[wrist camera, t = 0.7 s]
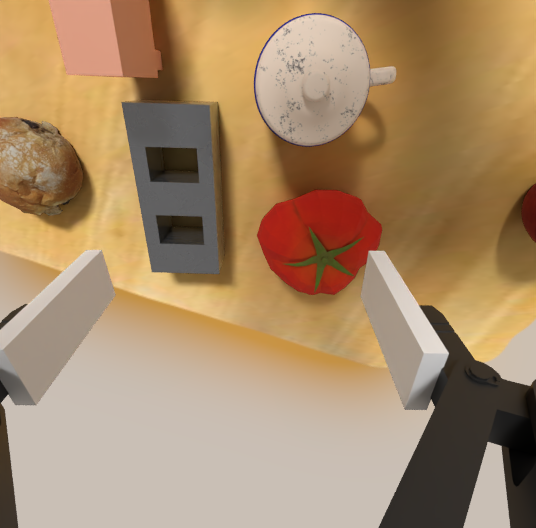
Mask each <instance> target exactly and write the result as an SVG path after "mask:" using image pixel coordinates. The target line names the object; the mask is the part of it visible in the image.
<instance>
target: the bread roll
mask: <svg viewBox="0 0 536 528" xmlns="http://www.w3.org/2000/svg"><path fill="white" fill-rule="evenodd" d="M82 181H83V171H82V167H81V165H80V161H79V160H78V158H77V156H76V153H75V151H74V149H73V148H72V146H71V145H70V143H69V142H68V141H67V140H66V139H65V138H63V137H62V136H60V135H59V134H58V129H57V128H56V127H54V126H53V125H51V124H50V123H47V122H44V121H42V124H40V123H38V122H34V121H30V120H26V119H22V118H18V117H4V118H0V199H1V200H2V201H4V202H6V203H8V204H10V205H12V206H14V207H16V208H18V209H20V210H21V211H22V212H23V213H30V214H37V215H41V214H42V213H46V214H47V215H57V214H60V213H61V212H62V211H63V210H61V208H59V206H58V205H59V204H63V205H65V204H68V203H69V201H70V199H72V198H74V197H75V196H76V195H77V193H78V191H79V190H80V189H81V185H82Z"/></svg>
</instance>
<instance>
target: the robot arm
mask: <svg viewBox="0 0 536 528" xmlns="http://www.w3.org/2000/svg"><path fill="white" fill-rule="evenodd" d="M114 297H115V292H114V288H113V285H112V282H111V279H110V275H109V272H108V269H107V266H106V262H105V259H104V256H103V253H102V250H86V251H85V252H84V253H82V254H81V255H80V256H79V257H78V258H77V259H76V260H75V261H74V262H73V263H72V264H71V265H70V266H68V267H67V268H66V269H65V270H64V271H63V272H62V273H61V274H60V275H59V276H58V277H57V278H56V279H54V280H53V281H52V282H51V283H50V284H49V285H48V286H47V287H46V288H45V289H44V290H43V291H42V292H40V293H39V294H38V295H37V296H36V297H35V298H34V299H33V300H32V301H31V302H30V303H29V304H25V305H23V306H21V307H19V308H18V309H16V310H14V311H12V312H11V313H10V314H9V315H8V316H7V317H5V318H4V319H3V320H2V322H1V323H0V528H18V521H17V513H16V504H15V495H14V486H13V478H12V470H11V460H10V452H9V443H8V434H7V425H6V417H5V409H4V408H3V406H2V404H1V402H2V401H3V400H4V398H5V397H6V396H7V395H9V396H10V398H11V399H12V401H13V402H14V404H15V405H37V403H38V402H39V401H40V399H41V398H42V396H43V395H44V394H45V392H46V391H47V389H48V388H49V387H50V385H51V384H52V382H53V381H54V380H55V378H56V377H57V376H58V374H59V373H60V371H61V370H62V369H63V367H64V366H65V365H66V363H67V362H68V360H69V359H70V358H71V356H72V355H73V354H74V352H75V351H76V349H77V348H78V347H79V345H80V344H81V342H82V341H83V340H84V338H85V337H86V336H87V334H88V333H89V331H90V330H91V329H92V327H93V325H94V324H95V323H96V321H97V320H98V319H99V317H100V316H101V315H102V313H103V312H104V311H105V309H106V308H107V306H108V305H109V304H110V302H111V301H112V300H113V298H114ZM361 299H362V301H363V304H364V306H365V309H366V312H367V314H368V317H369V319H370V322H371V324H372V327H373V330H374V332H375V335H376V337H377V340H378V342H379V345H380V348H381V350H382V353H383V355H384V358H385V360H386V363H387V365H388V368H389V371H390V373H391V375H392V378H393V381H394V383H395V386H396V388H397V391H398V394H399V396H400V399H401V401H402V404H403V407H404V409H405V410H427V408H428V405H429V403H430V400H431V399H432V402H433V404H434V406H435V409H434V411H433V414H432V415H431V418H430V420H429V422H428V424H427V426H426V428H425V430H424V433H423V435H422V437H421V439H420V441H419V443H418V445H417V448H416V450H415V451H414V454H413V456H412V458H411V460H410V462H409V464H408V466H407V468H406V471H405V473H404V475H403V477H402V479H401V481H400V483H399V485H398V487H397V490H396V492H395V494H394V496H393V498H392V500H391V502H390V505H389V507H388V509H387V511H386V513H385V515H384V517H383V519H382V522H381V524H380V526H379V528H463V526H464V523H465V519H466V516H467V512H468V509H469V505H470V501H471V498H472V494H473V491H474V488H475V484H476V481H477V477H478V474H479V470H480V466H481V463H482V460H483V456H484V452H485V449H486V446H487V442H491V443H494V444H498V445H501V446H502V455H503V463H504V473H505V482H506V491H507V500H508V509H509V519H510V528H536V380H535V381H533V383H532V385H531V386H527V385H523V384H519V383H515V382H511V381H507V380H504V379H502V378H501V377H500V375H499V374H498V373H497V372H496V371H495V370H494V369H493V368H491V367H489V366H488V365H486V364H484V363H482V362H479V361H476V360H475V359H474V358H473V356H472V355H471V354H470V352H469V351H468V349H467V348H466V347H465V345H464V344H463V342H462V341H461V339H460V338H459V337H458V335H457V334H456V333H455V332H454V330H453V328H452V327H451V325H449V322H448V321H447V320H446V318H445V317H444V315H443V314H442V313H441V312H439V311H438V310H437V309H435V308H434V307H433V306H422V305H418V303H417V302H416V300H415V299H414V297H413V295H412V294H411V292H410V291H409V289H408V287H407V286H406V284H405V283H404V281H403V279H402V278H401V276H400V275H399V273H398V271H397V270H396V268H395V267H394V265H393V264H392V262H391V260H390V259H389V257H388V256H387V254H386V252H385V251H369V252H368V258H367V263H366V269H365V275H364V280H363V286H362V291H361Z"/></svg>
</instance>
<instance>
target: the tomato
mask: <svg viewBox="0 0 536 528" xmlns="http://www.w3.org/2000/svg"><path fill="white" fill-rule="evenodd" d="M381 233H382V226H381V224H380V223H379V222H378V221H377V220H376V219H374V218H373V217H372V216H371V215H370V214H369V213H368V212H367V210H366V208H365V206H364V204H363V202H362V200H361V199H359V198H358V197H355V196H352V195H350V194H347V193H344V192H341V191H338V190H313V191H311V192H309V193H307V194H304V195H302V196H300V197H297V198H295V199H292V200H288V201H285V202H281V203H277V204H276V205H275V206H274V207H273V208H272V209H271V210H270V211H269V212H268V213H267V214H266V215H265V216H264V218H263V219H262V221H261V225H260V228H259V231H258V234H257V237H258V239H259V242H260V245H261V248H262V250H263V253H264V255H265V258H266V260H267V262H268V264H269V266H270V269H271V270H272V271H274V272H275V273H276V274H277V275H278V276H279V277H280V278H281V279H282V280H283V281H284V282H285V283H287V284H288V285H290V286H291V287H293V288H294V289H296V290H297V291H299V292H303V293H307V294H309V295H315V294H318V293H325V294H332V295H335V294H336V293H337V292H339V291H340V290H342V289H343V288H345V287H346V286H347V285H348V284H349V283H350V282H351V281H352V280H353V279H354V278H355V276H356V274H357V272H358V270H359V268H360V267H362V266H363V265H365V264H366V263H367V258H368V252H369V251H376V250H377V248H378V246H379V242H380V238H381Z"/></svg>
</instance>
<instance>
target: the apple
mask: <svg viewBox="0 0 536 528" xmlns="http://www.w3.org/2000/svg"><path fill="white" fill-rule="evenodd" d="M522 220H523V224H524V226H525V229H526V231H527V232H528V234H529V235H530V237H531V238H532V239H533V241H534V242H536V184H534V185H533V186H532V187H531V188H530V190H529V191H528V192H527V194H526V195H525V198H524V200H523V205H522Z"/></svg>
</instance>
